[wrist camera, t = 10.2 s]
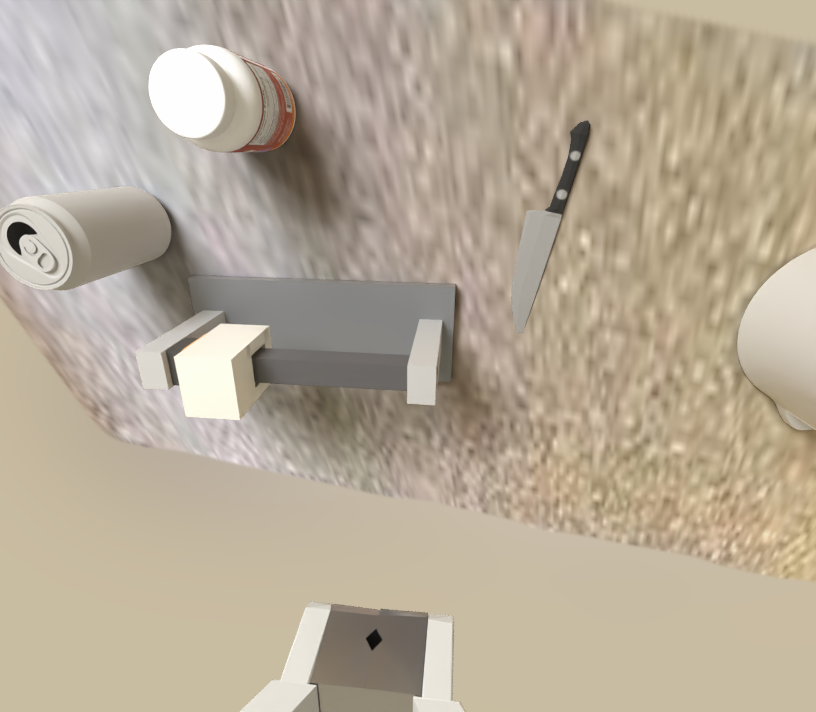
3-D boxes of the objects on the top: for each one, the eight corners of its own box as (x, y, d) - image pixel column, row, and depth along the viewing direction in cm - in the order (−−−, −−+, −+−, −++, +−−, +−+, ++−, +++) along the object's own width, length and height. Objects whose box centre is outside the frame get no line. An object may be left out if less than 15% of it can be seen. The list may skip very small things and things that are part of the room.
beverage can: (133, 169, 41) (10, 175, 30) (190, 227, 42) (94, 254, 31) (93, 219, 43) (-34, 243, 32) (150, 274, 44) (46, 313, 33)
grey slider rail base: (455, 284, 42) (452, 326, 31) (451, 377, 45) (447, 442, 35) (192, 275, 44) (112, 311, 34) (208, 364, 47) (139, 421, 37)
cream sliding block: (269, 325, 38) (231, 359, 32) (275, 378, 40) (239, 420, 33) (220, 323, 38) (173, 356, 32) (228, 375, 40) (185, 416, 34)
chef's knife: (484, 341, 44) (516, 349, 44) (484, 345, 43) (517, 354, 43) (552, 113, 36) (591, 122, 36) (553, 112, 35) (594, 121, 35)
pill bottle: (211, 124, 39) (121, 115, 28) (239, 47, 36) (153, 6, 26) (278, 167, 39) (214, 173, 29) (311, 94, 37) (254, 72, 27)
